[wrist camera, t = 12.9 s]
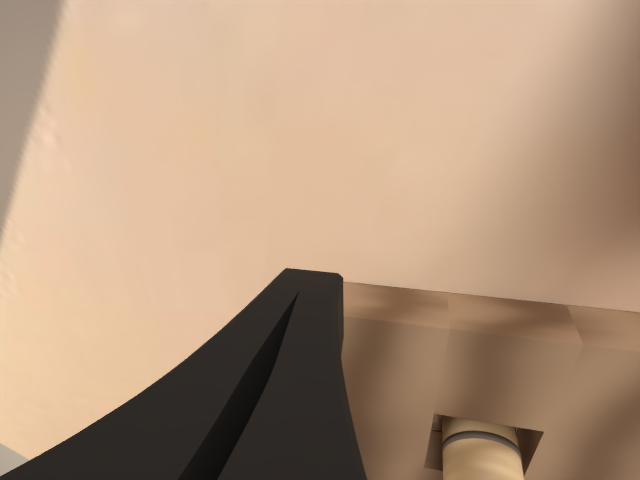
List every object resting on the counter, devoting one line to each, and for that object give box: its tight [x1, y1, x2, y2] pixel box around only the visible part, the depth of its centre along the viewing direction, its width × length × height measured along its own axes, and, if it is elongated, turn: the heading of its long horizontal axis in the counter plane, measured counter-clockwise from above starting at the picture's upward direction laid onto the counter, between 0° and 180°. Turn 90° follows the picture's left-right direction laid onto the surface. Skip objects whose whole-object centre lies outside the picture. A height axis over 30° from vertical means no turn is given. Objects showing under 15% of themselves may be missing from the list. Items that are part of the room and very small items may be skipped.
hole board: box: [341, 282, 640, 480], centre depth 23 cm, size 20×18×2 cm
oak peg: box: [442, 415, 524, 480], centre depth 22 cm, size 4×4×6 cm
